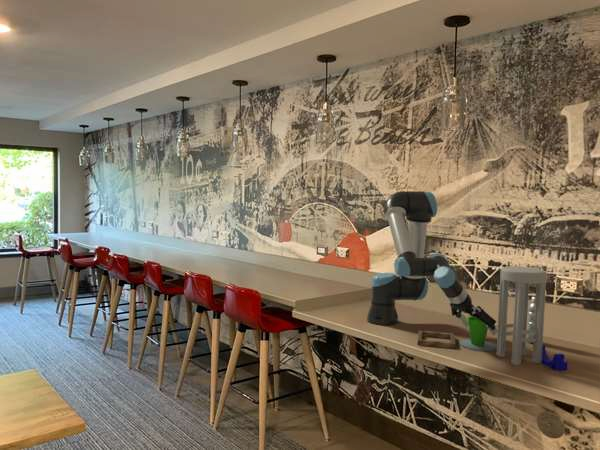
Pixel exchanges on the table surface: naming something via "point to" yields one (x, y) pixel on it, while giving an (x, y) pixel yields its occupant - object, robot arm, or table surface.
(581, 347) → the table surface
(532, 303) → the plastic bottle
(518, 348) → the stool
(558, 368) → the cable clip
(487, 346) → the mat
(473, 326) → the cup
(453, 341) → the cup holder
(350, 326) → the table surface
